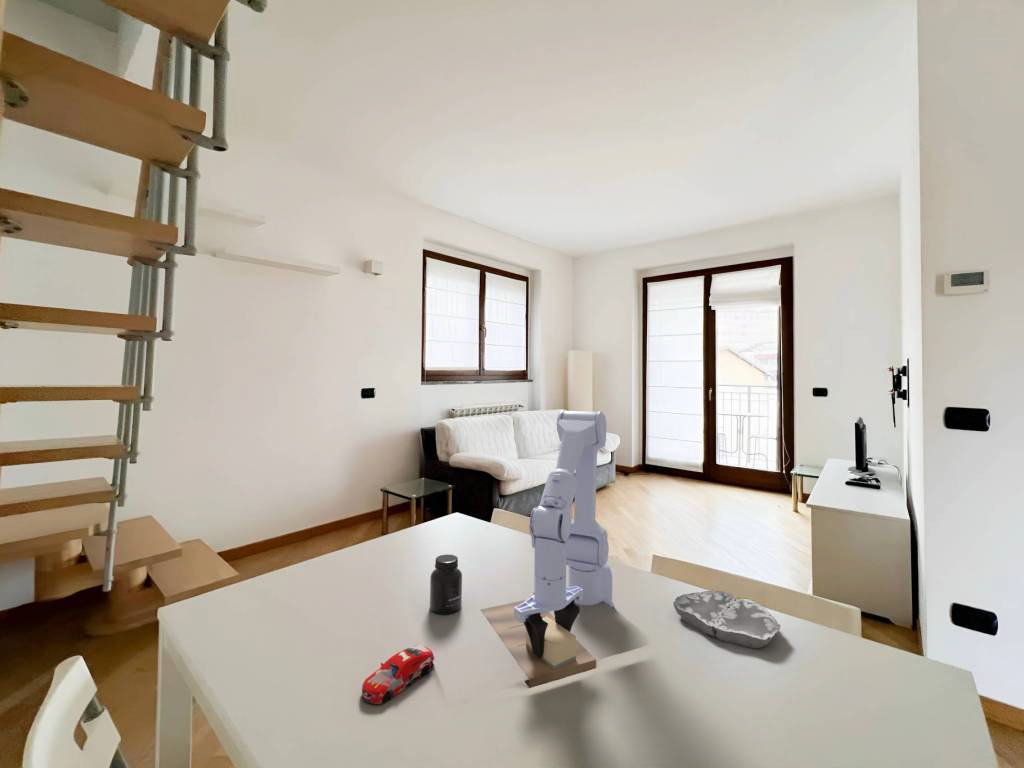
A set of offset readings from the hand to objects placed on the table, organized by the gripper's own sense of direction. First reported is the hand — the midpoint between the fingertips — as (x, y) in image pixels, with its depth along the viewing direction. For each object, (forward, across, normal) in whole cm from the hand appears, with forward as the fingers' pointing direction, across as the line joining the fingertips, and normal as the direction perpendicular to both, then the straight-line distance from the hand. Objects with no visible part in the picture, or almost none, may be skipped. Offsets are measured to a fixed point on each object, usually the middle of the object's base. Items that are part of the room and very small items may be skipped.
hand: (549, 649), depth 79 cm
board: (+2, -1, -7) cm, 7 cm away
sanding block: (0, 0, 0) cm, 1 cm away
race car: (+3, +24, -10) cm, 26 cm away
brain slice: (+3, -39, +11) cm, 40 cm away
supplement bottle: (+2, +8, -25) cm, 27 cm away
